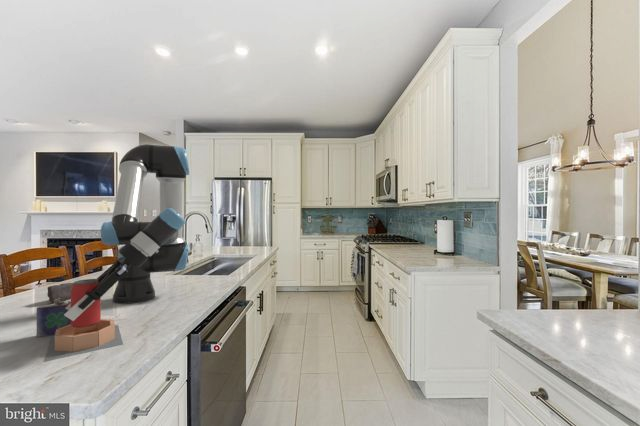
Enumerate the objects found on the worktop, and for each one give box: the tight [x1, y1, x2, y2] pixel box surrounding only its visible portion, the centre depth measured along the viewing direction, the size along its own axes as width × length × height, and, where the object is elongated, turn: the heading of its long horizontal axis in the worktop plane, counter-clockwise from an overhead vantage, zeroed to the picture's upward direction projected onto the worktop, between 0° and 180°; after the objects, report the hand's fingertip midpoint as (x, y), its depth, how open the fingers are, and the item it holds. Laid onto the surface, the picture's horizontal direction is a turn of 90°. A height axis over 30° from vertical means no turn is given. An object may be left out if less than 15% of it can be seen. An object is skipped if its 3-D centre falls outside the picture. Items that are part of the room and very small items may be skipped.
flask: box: [35, 298, 71, 338], centre depth 90 cm, size 9×3×11 cm, turn 121°
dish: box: [54, 318, 116, 352], centre depth 85 cm, size 13×13×4 cm
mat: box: [43, 324, 124, 363], centre depth 85 cm, size 18×16×1 cm
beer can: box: [70, 278, 102, 328], centre depth 84 cm, size 7×7×12 cm
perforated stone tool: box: [47, 282, 74, 303], centre depth 126 cm, size 15×5×7 cm, turn 170°
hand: (69, 314), depth 82 cm, fingers closed on beer can, 6 cm apart
